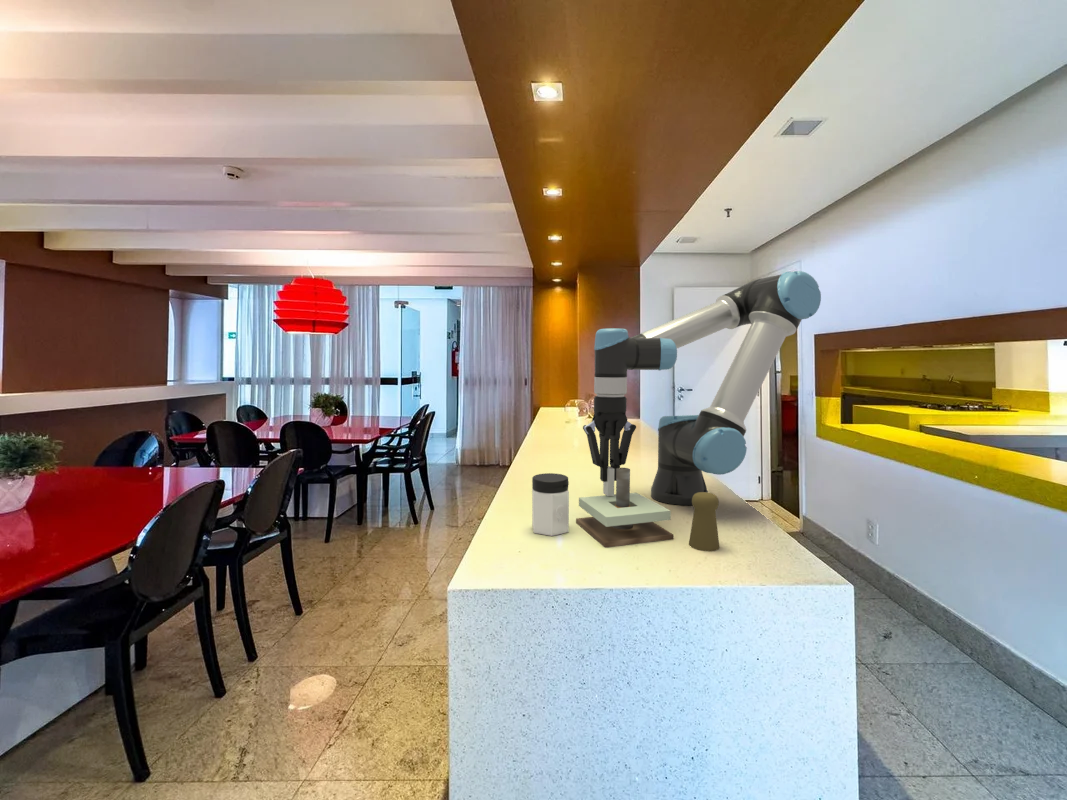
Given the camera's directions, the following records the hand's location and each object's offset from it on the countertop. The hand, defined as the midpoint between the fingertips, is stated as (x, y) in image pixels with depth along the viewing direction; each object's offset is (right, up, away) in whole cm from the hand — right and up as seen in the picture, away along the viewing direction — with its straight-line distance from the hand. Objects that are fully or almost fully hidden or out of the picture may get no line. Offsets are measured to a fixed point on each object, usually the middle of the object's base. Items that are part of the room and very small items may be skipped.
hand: (608, 494), depth 117 cm
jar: (-14, -7, -5) cm, 17 cm away
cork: (+17, -8, -15) cm, 24 cm away
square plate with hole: (+2, -3, -6) cm, 7 cm away
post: (+2, -7, -6) cm, 9 cm away
